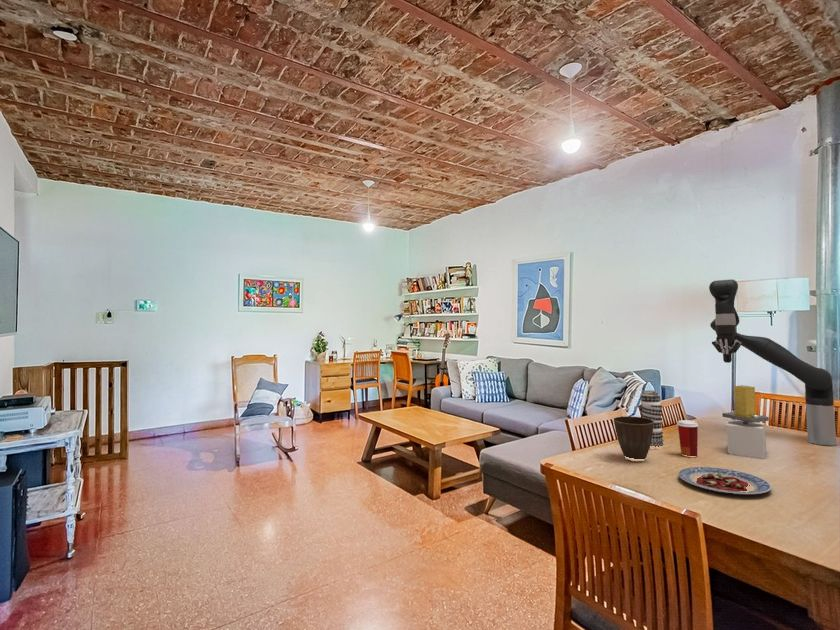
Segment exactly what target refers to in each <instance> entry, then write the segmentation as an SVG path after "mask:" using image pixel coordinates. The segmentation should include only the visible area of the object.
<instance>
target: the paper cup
mask: <svg viewBox="0 0 840 630" xmlns="http://www.w3.org/2000/svg"><path fill="white" fill-rule="evenodd" d="M676 426H677V430H678V438H679V445H680V446H679V447H680V454H683V455H687V456H697V457H698V445H699V444H698V439H699V438H698V434H699V433H698V432H699V424H698V423H697V421H694V420H687V419H683V420H682V419H681V420H680V419H679V420H678V421H677V423H676Z"/></svg>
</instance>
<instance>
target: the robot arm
mask: <svg viewBox="0 0 840 630" xmlns="http://www.w3.org/2000/svg"><path fill="white" fill-rule="evenodd" d="M708 287H709V288H708V289H709V292H710V294H711V296H712V297H713V298H714V301H715V302H714V303H715V304H714V307H715V310H714V311H715V318H714V319H713V320H712V321H711V322H710V325H709V326H710V328H711V329H712V330H713V331H714V332H715V334H716V339H715V340H714V341H711V344H712V346H713V347H714V349H716V350H717V352H718V353H721V354H722V360H723V363H727V364H728V363H731V362H732V361H733V360H732V359H733V357H732V356H733V355H732V354H735V353H737V352H738V350H739V349H740V347H741V346H742V347H744V348H745V349H747V350H748V351H750V352H751V353H753V354H754V355H756V356H758V357H759V358H761V359H763V360H765V361H767V362H768V363H770V364H772V365H773V366H776V367H777V368H780V369H782V370H783V371H786V372H787V373H789V374H791V375H793V376H794V377H795V378H797V379H798V380H799V381H801V382H802V383H803V384H804V391H805V396H804V398H805V399H804V400H805V413H806V414H805V415H806V428H807V429H806V430H807V442H808V443H810V444H813V443H814V445H820V446H831V447H832V446H837V437H836V436H837V434H836V420H835V419H836V418H835V417H836V416H835V407H834V406H835V404H834V385H833V376H832V374H831V373H830V372H829V371H828V370H826V369H825V368H821V367H815V366H814V365H811V364H809V363H807V362H805V361H803V360H802V359H801V358H798V357H797V356H796V355H795V354H793V353H792V351H790V350H788V349H787V348H786V347H784V346H782V345H781V344H779V343H778V342H776V341H775V340H772V339H771V338H768V337H765V336H755V335H746V334H743V333H742V334H741V333H738V332H737V326H739V324H740V317H739V315H738V311H737V310H736V307H735V300H736V296H737V293H738V289H739V284H738V281H736V280H735V279H721V280H714V281H711V282H710V284H709V286H708Z"/></svg>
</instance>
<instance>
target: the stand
mask: <svg viewBox="0 0 840 630" xmlns="http://www.w3.org/2000/svg"><path fill="white" fill-rule="evenodd" d="M765 424H766V423H764V422H755V423H749V422H745V421H740V420H735V419H729V420H728V422H727V423H726V427H725V428H726V442H727V454H728V453H729V455H733V454H735V455H734V456H740V455H741V456H742V457H748V456H749V457H750V458H755V457H756V459H762V458H764V459H763V460H765V458H766V455H767V442H766V440H767V439H766V425H765Z"/></svg>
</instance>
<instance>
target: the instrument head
mask: <svg viewBox="0 0 840 630" xmlns="http://www.w3.org/2000/svg"><path fill="white" fill-rule="evenodd" d="M755 389H756V387H755V386H750V385H734V386H733V392H734V393H733V394H734V396H733V398H734V400H733V401H734V411H732V412H731V411H730V412H722V417H723V418H726V419H730V420H735V421H745V422H749V423H755V422H757V423H764V422H769V421H770V417H769V416H765V415H760V414H756V390H755Z"/></svg>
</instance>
